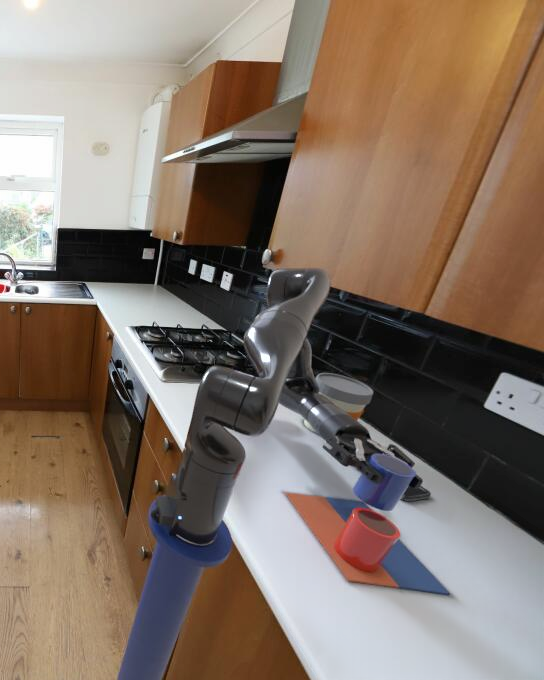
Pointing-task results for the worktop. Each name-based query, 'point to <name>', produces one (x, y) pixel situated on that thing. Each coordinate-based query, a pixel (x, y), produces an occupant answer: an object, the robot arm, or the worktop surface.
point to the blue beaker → (385, 482)
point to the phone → (413, 492)
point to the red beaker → (366, 539)
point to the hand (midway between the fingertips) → (398, 482)
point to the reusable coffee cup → (344, 394)
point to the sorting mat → (393, 572)
